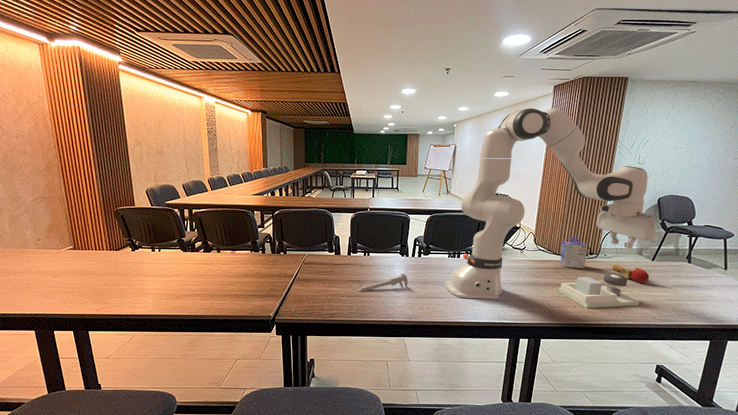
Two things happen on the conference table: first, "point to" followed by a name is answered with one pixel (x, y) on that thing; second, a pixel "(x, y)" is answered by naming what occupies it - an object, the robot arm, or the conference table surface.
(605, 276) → the wheel
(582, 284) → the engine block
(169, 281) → the conference table surface
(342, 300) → the conference table surface
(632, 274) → the kendama
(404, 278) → the caliper
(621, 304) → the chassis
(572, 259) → the ink cartridge box
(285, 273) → the conference table surface
